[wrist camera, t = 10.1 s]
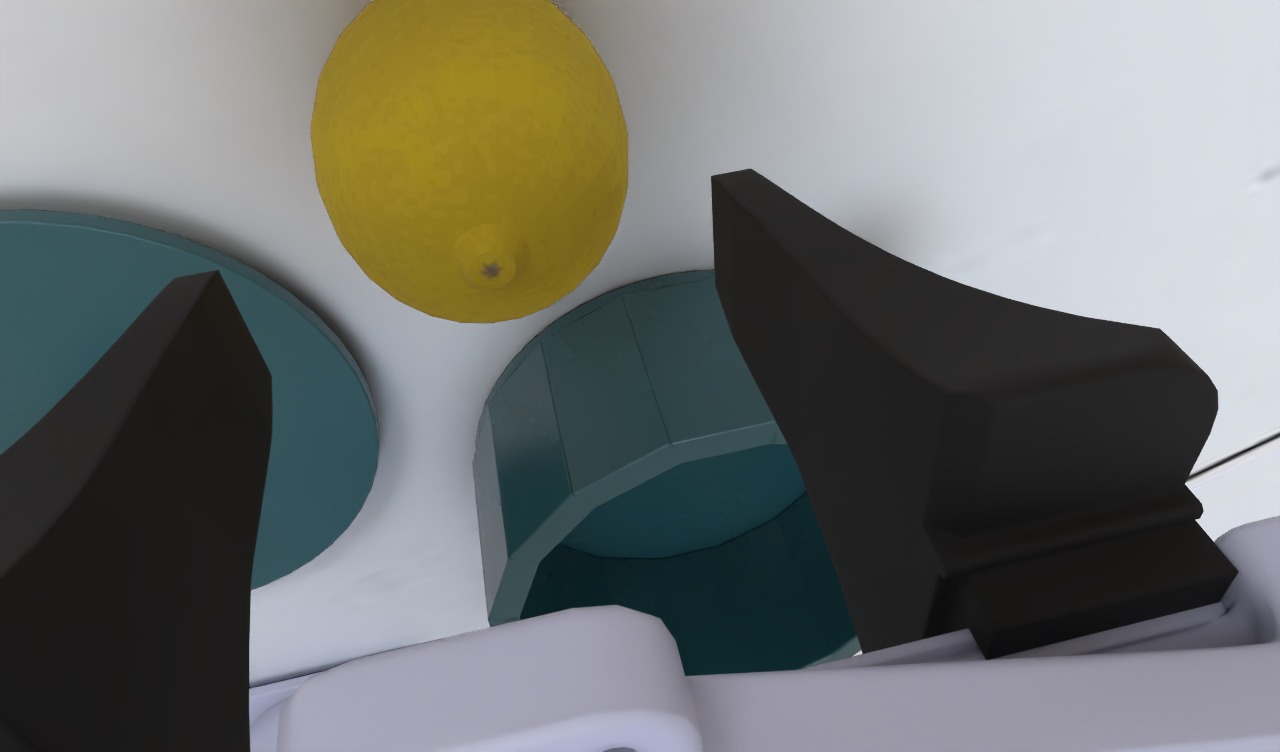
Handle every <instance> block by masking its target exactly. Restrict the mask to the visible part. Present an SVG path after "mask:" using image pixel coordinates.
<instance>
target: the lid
mask: <svg viewBox="0 0 1280 752" xmlns="http://www.w3.org/2000/svg"><path fill="white" fill-rule="evenodd" d="M214 270H219V272H220V274H221V276H222V277H223V279H224V281H225V283H226V285H227V287H228V289H229V291H230V293H231V295H232V297H233V299H234V301H235V303H236V305H237V307H238V309H239V311H240V313H241V315H242V317H243V319H244V321H245V323H246V325H247V327H248V329H249V331H250V333H251V335H252V337H253V339H254V341H255V343H256V345H257V347H258V349H259V351H260V353H261V355H262V357H263V359H264V361H265V363H266V365H267V367H268V369H269V371H270V373H271V375H272V402H273V426H272V441H271V449H270V456H269V462H268V469H267V476H266V483H265V489H264V496H263V502H262V509H261V515H260V522H259V528H258V535H257V541H256V548H255V554H254V561H253V571H252V581H251V590H253V589H256V588H259V587H261V586H264V585H266V584H269V583H271V582H273V581H275V580H277V579H279V578H281V577H283V576H286V575H288V574H290V573H291V572H293V571H295V570H296V569H298V568H300V567H301V566H303V565H305V564H306V563H308V562H310V561H311V560H313V559H314V558H315V557H316V556H318V555H319V554H320V553H322V552H323V551H324V550H325V549H327V548H328V547H329V546H330V545H332V544H333V543H334V542H335V541H336V540H337V538H338V537H339V536H340V535H341V534H342V533H343V532H344V531H345V530H346V529H347V528H348V527H349V526H350V524H351V523H352V521H353V520H354V519H355V517H356V516H357V514H358V513H359V511H360V510H361V509H362V507H363V505H364V503H365V500H366V498H367V496H368V494H369V492H370V490H371V488H372V484H373V481H374V477H375V473H376V470H377V464H378V451H379V430H378V421H377V413H376V408H375V405H374V402H373V399H372V395H371V392H370V389H369V386H368V384H367V382H366V380H365V378H364V376H363V374H362V372H361V370H360V368H359V367H358V365H357V363H356V361H355V360H354V358H353V357H352V356H351V354H350V353H349V351H348V350H347V349H346V347H345V346H344V344H343V343H342V342H341V340H340V339H339V338H338V336H337V335H336V334H335V333H334V332H333V331H332V330H331V329H330V328H329V327H328V326H327V325H326V324H325V323H324V322H323V321H322V320H321V319H320V318H319V317H318V315H317V314H316V313H314V312H313V311H312V310H311V309H309V308H308V307H307V306H306V305H305V304H303V303H302V302H301V301H300V300H298V299H297V298H296V297H295V296H294V295H292V294H291V293H290V292H289V291H287V290H286V289H284V288H283V287H281V286H279V285H278V284H276V283H275V282H273V281H272V280H270V279H269V278H267V277H265V276H264V275H262V274H261V273H259V272H258V271H256V270H254V269H252V268H250V267H248V266H247V265H245V264H243V263H241V262H239V261H237V260H235V259H233V258H231V257H229V256H227V255H225V254H223V253H221V252H219V251H216V250H214V249H211V248H209V247H206V246H203V245H201V244H198V243H196V242H193V241H190V240H188V239H185V238H183V237H180V236H178V235H174V234H171V233H167V232H164V231H160V230H157V229H153V228H149V227H146V226H142V225H139V224H135V223H132V222H126V221H121V220H115V219H110V218H104V217H99V216H93V215H88V214H80V213H68V212H56V211H44V210H0V455H1V454H2V453H3V452H5V451H6V450H7V449H8V448H9V447H11V446H12V445H13V444H14V443H15V442H16V441H17V440H19V439H20V438H21V437H22V436H23V435H24V434H25V433H26V432H28V431H29V430H30V429H31V428H32V427H33V426H34V425H35V424H36V423H37V422H38V421H39V420H41V419H42V418H43V417H44V416H45V415H46V414H47V413H48V412H49V411H50V410H51V409H52V408H53V407H54V406H55V405H56V404H57V403H58V402H59V401H60V400H61V399H62V398H63V397H64V396H65V395H66V394H67V393H68V392H69V391H70V390H71V389H72V388H73V386H74V385H75V384H76V383H77V382H78V381H79V380H80V379H81V378H82V377H83V376H84V375H85V374H86V373H87V372H88V371H89V370H90V369H91V368H92V367H93V366H94V365H95V364H96V363H97V362H98V361H99V359H100V358H101V357H102V356H103V355H104V354H105V353H106V352H107V351H108V349H109V348H110V347H111V346H112V345H113V344H114V343H115V342H116V341H117V340H118V338H119V337H120V336H121V335H122V334H123V333H124V332H125V331H126V330H127V328H128V327H129V326H130V325H131V324H132V323H133V322H134V320H135V319H136V318H137V317H138V316H139V315H140V314H141V313H142V311H143V310H144V309H145V308H146V307H147V306H148V305H149V304H150V303H151V301H152V300H153V299H154V298H155V297H156V296H157V295H158V294H159V293H160V292H161V291H162V290H163V289H164V288H165V287H166V286H167V285H168V284H169V283H170V282H171V281H172V280H173V279H174V278H177V277H182V276H187V275H193V274H198V273H203V272H208V271H214Z"/></svg>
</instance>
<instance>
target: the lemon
mask: <svg viewBox="0 0 1280 752" xmlns="http://www.w3.org/2000/svg"><path fill="white" fill-rule="evenodd" d="M311 141H312V149H313V157H314V166H315V174H316V181H317V185H318V189H319V192H320V195H321V197H322V200H323V202H324V205H325V207H326V209H327V212H328V214H329V217H330V219H331V221H332V224H333V226H334V228H335V231H336V233H337V236H338V238H339V239H340V241H341V243H342V244H343V246H344V247H345V249H346V250H347V251H348V252H349V254H350V255H351V256H352V257H353V259H354V260H355V261H356V262H357V264H358V265H359V266H360V268H361V269H362V270H363V271H364V273H365V274H366V275H367V276H368V277H369V278H370V279H371V280H372V281H373V282H375V283H376V284H377V285H378V286H380V287H381V288H382V289H384V290H385V291H386V292H388V293H389V294H390V295H391V296H393V297H394V298H395V299H397V300H399V301H400V302H402V303H404V304H406V305H408V306H411V307H413V308H415V309H417V310H419V311H421V312H424V313H426V314H428V315H430V316H433V317H438V318H442V319H447V320H451V321H456V322H460V323H495V322H501V321H507V320H512V319H518V318H522V317H525V316H527V315H530V314H532V313H535V312H537V311H540V310H542V309H545V308H547V307H549V306H551V305H552V304H554V303H555V302H557V301H558V300H560V299H561V298H563V297H564V296H566V295H567V294H569V293H570V292H572V291H573V290H574V289H575V288H576V287H577V286H578V285H579V284H580V283H581V282H582V281H583V280H584V279H585V278H586V277H587V276H588V275H589V274H590V273H591V272H592V270H593V269H594V268H595V267H596V266H597V265H598V264H599V262H600V261H601V259H602V257H603V255H604V254H605V252H606V250H607V248H608V247H609V245H610V243H611V241H612V240H613V238H614V235H615V233H616V231H617V228H618V224H619V221H620V217H621V213H622V209H623V206H624V202H625V198H626V193H627V187H628V134H627V127H626V122H625V119H624V116H623V112H622V109H621V105H620V102H619V98H618V95H617V91H616V88H615V85H614V82H613V79H612V77H611V75H610V73H609V71H608V70H607V68H606V66H605V65H604V63H603V61H602V60H601V58H600V57H599V55H598V53H597V52H596V50H595V48H594V47H593V45H592V44H591V42H590V40H589V39H588V38H587V36H586V35H585V34H584V33H583V32H582V31H581V30H580V29H579V28H578V27H577V26H576V25H575V24H574V23H573V22H572V21H571V20H570V19H569V18H568V17H567V16H566V15H565V14H564V13H563V12H562V11H560V10H559V9H558V8H557V7H556V6H555V5H554V4H553V3H552V2H550V1H548V0H374V1H373V2H371V3H370V4H368V6H367V7H366V8H365V9H364V10H363V11H362V12H361V13H360V14H359V15H358V16H357V17H356V18H355V19H354V20H353V22H352V23H351V24H350V25H349V26H348V27H347V28H346V29H345V30H344V31H343V32H342V34H341V35H340V37H339V38H338V40H337V42H336V44H335V46H334V48H333V50H332V52H331V54H330V56H329V58H328V60H327V62H326V64H325V66H324V68H323V70H322V72H321V75H320V77H319V81H318V86H317V92H316V98H315V104H314V110H313V116H312V122H311Z"/></svg>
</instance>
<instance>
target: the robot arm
mask: <svg viewBox="0 0 1280 752" xmlns="http://www.w3.org/2000/svg"><path fill="white" fill-rule="evenodd" d="M711 187H712V213H713V239H714V266H715V287H716V290H717V293H718V296H719V299H720V301H721V304H722V307H723V310H724V313H725V316H726V319H727V322H728V325H729V328H730V330H731V333H732V336H733V339H734V341H735V343H736V345H737V347H738V349H739V351H740V353H741V355H742V357H743V359H744V361H745V363H746V364H747V366H748V368H749V370H750V372H751V374H752V376H753V378H754V380H755V382H756V384H757V386H758V388H759V390H760V392H761V394H762V396H763V398H764V400H765V402H766V403H767V405H768V407H769V409H770V411H771V413H772V415H773V417H774V419H775V421H776V423H777V425H778V427H779V429H780V431H781V433H782V434H783V436H784V438H785V440H786V442H787V444H788V447H789V449H790V451H791V453H792V455H793V458H794V460H795V462H796V464H797V466H798V469H799V472H800V474H801V477H802V480H803V482H804V485H805V488H806V490H807V493H808V496H809V498H810V501H811V504H812V506H813V509H814V512H815V514H816V517H817V520H818V523H819V525H820V528H821V531H822V534H823V537H824V539H825V542H826V545H827V548H828V551H829V553H830V556H831V559H832V562H833V565H834V568H835V570H836V573H837V576H838V579H839V582H840V585H841V588H842V591H843V594H844V597H845V600H846V603H847V606H848V609H849V612H850V616H851V619H852V622H853V625H854V628H855V631H856V634H857V637H858V640H859V643H860V647H861V650H862V653H863V654H861V655H857V656H853V657H849V658H845V659H841V660H837V661H833V662H829V663H824V664H820V665H816V666H812V667H808V668H804V669H800V670H790V671H772V672H753V673H734V674H716V675H697V676H685V673H684V670H683V666H682V662H681V659H680V655H679V651H678V648H677V644H676V641H675V639H674V638H673V636H672V635H671V633H670V632H669V630H668V629H667V628H666V626H665V625H664V623H663V622H662V620H661V619H660V618H657V617H655V616H652V615H649V614H646V613H642V612H639V611H636V610H632V609H629V608H626V607H622V606H619V605H607V606H595V607H582V608H571V609H567V610H563V611H558V612H554V613H550V614H545V615H541V616H537V617H532V618H528V619H524V620H520V621H515V622H511V623H507V624H502V625H498V626H494V627H489V628H485V629H481V630H477V631H472V632H468V633H464V634H459V635H455V636H451V637H446V638H442V639H438V640H434V641H429V642H425V643H421V644H416V645H412V646H408V647H403V648H399V649H395V650H390V651H386V652H382V653H378V654H373V655H369V656H365V657H360V658H356V659H353V660H351V661H348V662H346V663H343V664H341V665H338V666H336V667H333V668H331V669H328V670H326V671H323V672H319V673H314V674H310V675H306V676H301V677H297V678H293V679H289V680H284V681H280V682H276V683H271V684H267V685H263V686H259V687H254V688H250V689H249V633H250V596H251V581H252V571H253V561H254V554H255V548H256V541H257V535H258V528H259V522H260V515H261V509H262V502H263V496H264V489H265V483H266V476H267V469H268V462H269V456H270V449H271V441H272V426H273V402H272V375H271V373H270V371H269V369H268V367H267V365H266V363H265V361H264V359H263V357H262V355H261V353H260V351H259V349H258V347H257V345H256V343H255V341H254V339H253V337H252V335H251V333H250V331H249V329H248V327H247V325H246V323H245V321H244V319H243V317H242V315H241V313H240V311H239V309H238V307H237V305H236V303H235V301H234V299H233V297H232V295H231V293H230V291H229V289H228V287H227V285H226V283H225V281H224V279H223V277H222V276H221V274H220V272H219V270H214V271H208V272H203V273H198V274H193V275H187V276H182V277H177V278H174V279H173V280H172V281H171V282H170V283H169V284H168V285H167V286H166V287H165V288H164V289H163V290H162V291H161V292H160V293H159V294H158V295H157V296H156V297H155V298H154V299H153V300H152V301H151V303H150V304H149V305H148V306H147V307H146V308H145V309H144V310H143V311H142V313H141V314H140V315H139V316H138V317H137V318H136V319H135V320H134V322H133V323H132V324H131V325H130V326H129V327H128V328H127V330H126V331H125V332H124V333H123V334H122V335H121V336H120V337H119V338H118V340H117V341H116V342H115V343H114V344H113V345H112V346H111V347H110V348H109V349H108V351H107V352H106V353H105V354H104V355H103V356H102V357H101V358H100V359H99V361H98V362H97V363H96V364H95V365H94V366H93V367H92V368H91V369H90V370H89V371H88V372H87V373H86V374H85V375H84V376H83V377H82V378H81V379H80V380H79V381H78V382H77V383H76V384H75V385H74V386H73V388H72V389H71V390H70V391H69V392H68V393H67V394H66V395H65V396H64V397H63V398H62V399H61V400H60V401H59V402H58V403H57V404H56V405H55V406H54V407H53V408H52V409H51V410H50V411H49V412H48V413H47V414H46V415H45V416H44V417H43V418H42V419H41V420H39V421H38V422H37V423H36V424H35V425H34V426H33V427H32V428H31V429H30V430H29V431H28V432H26V433H25V434H24V435H23V436H22V437H21V438H20V439H19V440H17V441H16V442H15V443H14V444H13V445H12V446H11V447H9V448H8V449H7V450H6V451H5V452H3V453H2V454H1V455H0V752H1280V516H1277V517H1272V518H1268V519H1264V520H1260V521H1256V522H1252V523H1248V524H1244V525H1241V526H1239V527H1236V528H1233V529H1231V530H1229V531H1228V532H1226V533H1225V534H1223V535H1222V536H1220V537H1219V538H1217V540H1216V541H1215V542H1213V541H1212V539H1211V538H1210V537H1209V536H1208V535H1207V534H1206V532H1205V531H1204V530H1203V529H1202V528H1201V526H1200V525H1199V524H1198V523H1197V522H1196V521H1195V519H1199V518H1200V517H1201V515H1202V513H1203V507H1202V504H1201V502H1200V501H1199V500H1198V499H1197V498H1196V497H1195V495H1194V494H1193V493H1192V492H1191V491H1190V490H1189V489H1188V487H1187V486H1186V485H1185V482H1186V480H1187V478H1188V476H1189V474H1190V472H1191V470H1192V468H1193V466H1194V464H1195V462H1196V460H1197V458H1198V456H1199V454H1200V452H1201V450H1202V449H1203V447H1204V445H1205V443H1206V441H1207V439H1208V437H1209V435H1210V432H1211V429H1212V426H1213V423H1214V421H1215V418H1216V415H1217V411H1218V390H1217V389H1216V387H1215V386H1214V384H1213V382H1212V381H1211V379H1210V378H1209V376H1208V375H1207V374H1206V373H1205V372H1204V371H1203V370H1202V369H1201V368H1200V367H1199V366H1198V365H1197V364H1196V363H1195V362H1194V361H1193V360H1192V359H1191V358H1190V357H1189V356H1188V355H1187V354H1186V353H1185V352H1184V351H1183V350H1182V349H1181V348H1180V347H1179V346H1178V345H1177V344H1176V343H1175V342H1173V341H1172V340H1171V339H1170V338H1169V337H1168V336H1167V335H1166V334H1165V333H1164V332H1163V331H1162V330H1161V329H1158V328H1152V327H1145V326H1139V325H1133V324H1126V323H1120V322H1113V321H1107V320H1101V319H1094V318H1088V317H1083V316H1078V315H1073V314H1069V313H1064V312H1060V311H1055V310H1051V309H1047V308H1042V307H1038V306H1034V305H1030V304H1026V303H1023V302H1019V301H1015V300H1011V299H1008V298H1004V297H1001V296H998V295H995V294H992V293H989V292H986V291H982V290H979V289H976V288H973V287H970V286H967V285H964V284H961V283H959V282H956V281H953V280H950V279H948V278H945V277H942V276H940V275H938V274H935V273H933V272H931V271H928V270H926V269H923V268H921V267H919V266H916V265H914V264H912V263H909V262H907V261H905V260H903V259H901V258H898V257H896V256H894V255H892V254H890V253H888V252H886V251H884V250H882V249H881V248H879V247H877V246H875V245H873V244H871V243H869V242H867V241H865V240H864V239H862V238H860V237H858V236H856V235H854V234H853V233H851V232H849V231H848V230H846V229H844V228H842V227H841V226H839V225H837V224H836V223H834V222H832V221H831V220H829V219H828V218H826V217H824V216H823V215H821V214H820V213H818V212H816V211H815V210H813V209H812V208H810V207H809V206H807V205H806V204H804V203H802V202H801V201H799V200H798V199H796V198H795V197H793V196H792V195H790V194H789V193H787V192H786V191H784V190H783V189H781V188H780V187H779V186H777V185H776V184H774V183H773V182H771V181H770V180H768V179H767V178H765V177H764V176H762V175H760V174H759V173H757V172H756V171H754V170H752V169H746V170H740V171H735V172H730V173H724V174H719V175H714V176H711Z"/></svg>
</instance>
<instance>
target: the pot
mask: <svg viewBox="0 0 1280 752" xmlns="http://www.w3.org/2000/svg"><path fill="white" fill-rule="evenodd" d="M475 443H476V452H475V455H474V459H473V474H474V484H475V494H476V504H477V514H478V524H479V534H480V544H481V554H482V564H483V574H484V584H485V594H486V604H487V614H488V622H489V624H490V627H494V626H498V625H502V624H507V623H511V622H515V621H520V620H524V619H528V618H532V617H537V616H541V615H545V614H550V613H554V612H558V611H563V610H567V609H571V608H582V607H595V606H607V605H619V606H622V607H626V608H629V609H632V610H636V611H639V612H642V613H646V614H649V615H652V616H655V617H657V618H660V619H661V620H662V622H663V623H664V625H665V626H666V628H667V629H668V630H669V632H670V633H671V635H672V636H673V638H674V639H675V641H676V644H677V648H678V651H679V655H680V659H681V662H682V666H683V670H684V673H685V676H697V675H716V674H734V673H753V672H772V671H790V670H800V669H804V668H808V667H812V666H816V665H820V664H824V663H829V662H833V661H837V660H841V659H845V658H849V657H852V656H853V655H855V654H856V653H857V652H859V651H860V650H861V647H860V643H859V640H858V637H857V634H856V631H855V628H854V625H853V622H852V619H851V616H850V612H849V609H848V606H847V603H846V600H845V597H844V594H843V591H842V588H841V585H840V582H839V579H838V576H837V573H836V570H835V568H834V565H833V562H832V559H831V556H830V553H829V551H828V548H827V545H826V542H825V539H824V537H823V534H822V531H821V528H820V525H819V523H818V520H817V517H816V514H815V512H814V509H813V506H812V504H811V501H810V498H809V496H808V493H807V490H806V488H805V485H804V482H803V480H802V477H801V474H800V472H799V469H798V466H797V464H796V462H795V460H794V458H793V455H792V453H791V451H790V449H789V447H788V444H787V442H786V440H785V438H784V436H783V434H782V433H781V431H780V429H779V427H778V425H777V423H776V421H775V419H774V417H773V415H772V413H771V411H770V409H769V407H768V405H767V403H766V402H765V400H764V398H763V396H762V394H761V392H760V390H759V388H758V386H757V384H756V382H755V380H754V378H753V376H752V374H751V372H750V370H749V368H748V366H747V364H746V363H745V361H744V359H743V357H742V355H741V353H740V351H739V349H738V347H737V345H736V343H735V341H734V339H733V336H732V333H731V330H730V328H729V325H728V322H727V319H726V316H725V313H724V310H723V307H722V304H721V301H720V299H719V296H718V293H717V290H716V287H715V270H713V271H691V272H684V273H677V274H670V275H664V276H660V277H656V278H652V279H648V280H644V281H640V282H636V283H633V284H630V285H627V286H625V287H622V288H619V289H617V290H614V291H611V292H608V293H606V294H604V295H602V296H600V297H598V298H596V299H594V300H591V301H589V302H587V303H585V304H583V305H581V306H579V307H578V308H576V309H574V310H573V311H571V312H570V313H568V314H567V315H565V316H563V317H562V318H560V319H559V320H557V321H555V322H554V323H553V324H551V325H550V326H549V327H548V328H546V329H545V330H544V331H543V332H541V333H540V334H539V335H538V336H536V337H535V338H534V339H533V340H532V341H531V342H530V343H529V344H528V345H527V346H526V347H525V348H524V349H523V350H522V351H521V352H520V353H519V354H518V355H517V356H516V357H515V358H514V359H513V360H512V361H511V363H510V364H509V365H508V367H507V368H506V370H505V371H504V372H503V374H502V375H501V376H500V378H499V379H498V380H497V382H496V384H495V386H494V388H493V390H492V391H491V393H490V395H489V397H488V399H487V401H486V403H485V406H484V409H483V412H482V415H481V417H480V420H479V424H478V430H477V436H476V442H475Z"/></svg>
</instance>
